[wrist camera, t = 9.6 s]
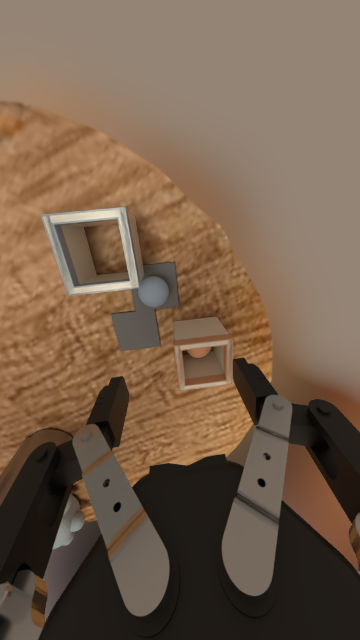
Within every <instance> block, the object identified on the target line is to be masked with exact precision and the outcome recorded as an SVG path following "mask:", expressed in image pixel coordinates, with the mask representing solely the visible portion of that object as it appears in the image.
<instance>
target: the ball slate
mask: <svg viewBox="0 0 360 640" xmlns="http://www.w3.org/2000/svg"><path fill="white" fill-rule="evenodd" d="M138 295H139V298H140V300H141V301H142V302H143V303H144V304H145V305H147V306H150V307H158V306H161V305H162V304H164V303H165V302H166V300H167V299H168V296H169V288H168V285H167V283H166V282H165V281H164V280H163V279H162V278H160V277H157V276H150V277H147V278H145V279H144V280H143V281H142V282H141V286H140V288H138Z"/></svg>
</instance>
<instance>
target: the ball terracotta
mask: <svg viewBox="0 0 360 640" xmlns="http://www.w3.org/2000/svg"><path fill="white" fill-rule="evenodd" d="M210 350H211V347H208V348H199V349H191V350H187V352H188V353H189V354H190V355H191V356H193V357H195V358H202V357H204V356H206V355H207V354H208V353H209V352H210Z"/></svg>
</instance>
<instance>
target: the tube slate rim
mask: <svg viewBox="0 0 360 640" xmlns="http://www.w3.org/2000/svg"><path fill="white" fill-rule="evenodd" d="M41 218H42V221H43V224H44V227H45V230H46V232H47V235H48V238H49V241H50V244H51V247H52V250H53V253H54V255H55V258H56V261H57V264H58V267H59V270H60V273H61V276H62V278H63V281H64V284H65V287H66V290H67V293H68V296H70V295H79V294H88V293H98V292H107V291H116V290H125V289H134V288H140V286H141V283H140V282H141V280H142V278H143V276H144V270H143V262H142V256H141V250H140V244H139V238H138V232H137V226H136V220H135V217H134V216H133V215H131V214H130V213H129V212H128V210H127V208H125V207H119V208H109V209H98V210H87V211H76V212H66V213H55V214H44V215H41ZM111 224H119V229H120V234H121V239H122V244H123V249H124V253H125V258H126V263H127V268H128V272H120V273H111V274H101V275H97V274H96V270H95V267H94V263H93V259H92V256H91V252H90V248H89V245H88V241H87V237H86V233H85V230H84V227H91V226H101V225H111Z"/></svg>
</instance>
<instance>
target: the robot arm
mask: <svg viewBox="0 0 360 640" xmlns="http://www.w3.org/2000/svg"><path fill="white" fill-rule="evenodd" d="M233 379H234V383H235V385H236V387H237V389H238V392H239V394H240V396H241V398H242V400H243V402H244V404H245V406H246V408H247V410H248V412H249V414H250V417H251V419H252V421H253V423H254V425H258V427H257V426H256V429H255V432H254V435H253V439H252V442H251V446H250V449H249V453H248V456H247V460H246V463H245V467H244V466H242V465H240V464H238V463H236V462H232V461H227V460H226V457H225V454H221V455H215V456H209V457H205V458H203V459H201V460H199V461H197V462H195V463H193V464H191V465H188V466H185V465H178V464H170V463H167V464H161V465H155V466H150V471H149V474H147V475H146V476H144V477H142V478H141V479H140V480H139V481H138V482H137V483H136V484H135V485H134V486H133V487H131V485H130V483H129V481H128V479H127V477H126V476H125V474H124V472H123V470H122V468H121V467H120V465H119V463H118V461H117V459H116V457H115V456H114V454H113V452H112V449H113V448H114V447H119V445H120V440H121V435H122V431H123V426H124V421H125V416H126V412H127V407H128V402H129V392H128V389H127V386H126V383H125V380H124V377H123V376H120V377H114V378H111V380H110V383H109V386H105V387H104V388H103V389H102V390H101V391H100V392H99V395H98V397H97V400H96V402H95V405H94V407H93V409H92V412H91V414H90V417H89V419H88V421H87V424H86V426H84V427H82V428H81V429H80V430H79V431H78V432H77V433H76V434H75V436H74V438H72V437H71V436H70V435H69V434H67V433H65V432H63V431H59V430H54V429H46V430H41V431H38V432H36V433H35V434H33V435H32V436H31V437H26V439H25V440H24V442H23V443H22V445H21V446H20V448H19V449H18V451H17V452H16V454H15V455H14V456H13V458H12V459H11V461H10V462H9V464H8V465H7V467H6V468H5V470H4V471H3V473H2V474H1V475H0V640H360V432H359V431H358V430H357V429H356V428H355V427H354V426H353V425H352V424H351V423H350V422H349V420H348V419H347V418H346V417H345V416H344V415H343V414H342V413H341V412H340V411H339V410H338V409H337V408H336V407H335V406H334V405H333V404H331V403H329V402H327V401H324V400H320V399H315V400H311V401H310V402H309V405H308V406H306V405H298V404H292V403H290V402H289V401H288V400H287V399H286V398H284V397H282V396H279V395H278V394H277V392H276V391H275V390H274V388H273V387H272V385H271V384H270V383H269V381H268V380H267V379H266V377H265V376H264V374H263V373H262V371H261V370H260V369H259V367H257V366H256V365H254V364H253V363H252V364H248V363H247V361H246V360H245V358H237V359H233ZM288 443H291V444H298V445H304V446H305V447H306V449H307V450H308V452H309V454H310V455H311V457H312V459H313V460H314V462H315V464H316V465H317V467H318V469H319V470H320V472H321V473H322V475H323V477H324V478H325V480H326V482H327V483H328V485H329V487H330V488H331V490H332V491H333V493H334V495H335V497H336V498H337V500H338V502H339V503H340V505H341V507H342V508H343V510H344V511H345V513H346V515H347V516H348V518H349V520H350V521H351V523H352V525H351V527H350V529H349V541H350V544H351V546H352V548H353V551H354V553H355V555H356V558H357V562H358V571H356V569H355V568H354V567H353V566H352V564H351V563H350V562H349V561H348V560H347V559H346V558H345V557H344V556H343V555H342V554H341V553H340V552H339V551H338V550H337V549H336V548H334V547H333V546H332V545H331V544H330V543H329V542H328V541H327V540H326V539H324V538H323V537H322V536H321V535H320V534H319V533H318V532H317V531H316V530H315V529H313V528H312V527H311V526H310V525H309V524H308V523H307V522H306V521H305V520H304V519H303V518H301V517H300V516H299V515H298V514H297V513H296V512H295V511H294V510H293V509H291V508H290V507H289V506H288V505H287V504H286V503H285V502H284V501H282V492H283V484H284V476H285V468H286V459H287V451H288ZM81 479H83V481H84V483H85V486H86V489H87V492H88V495H89V498H90V501H91V504H92V507H93V510H94V512H95V515H96V518H97V521H98V524H99V527H100V530H101V532H102V534H101V535H100V537H99V538H98V540H97V541H96V543H95V544H94V546H93V547H92V549H91V551H90V552H89V553H88V555H87V556H86V558H85V559H84V561H83V563H82V564H81V566H80V567H79V569H78V570H77V572H76V574H75V575H74V576H73V578H72V579H71V581H70V582H69V584H68V585H67V587H66V589H65V590H64V592H63V593H62V595H61V596H60V598H59V599H58V601H57V602H56V604H55V605H54V607H53V609H52V611H51V612H50V614H49V616H48V618H47V620H46V622H45V608H46V603H47V597H48V587H47V584H46V582H45V581H44V580H43V577H44V574H45V571H46V568H47V565H48V562H49V558H50V555H51V552H52V549H53V546H54V543H55V540H56V536H57V533H58V530H59V527H60V524H61V521H62V518H63V514H64V511H65V508H66V505H67V502H68V499H69V496H70V492H71V489H72V486H73V483H75V482H77V481H79V480H81Z"/></svg>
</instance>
